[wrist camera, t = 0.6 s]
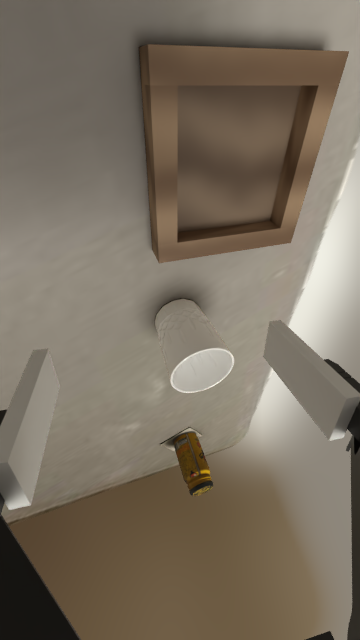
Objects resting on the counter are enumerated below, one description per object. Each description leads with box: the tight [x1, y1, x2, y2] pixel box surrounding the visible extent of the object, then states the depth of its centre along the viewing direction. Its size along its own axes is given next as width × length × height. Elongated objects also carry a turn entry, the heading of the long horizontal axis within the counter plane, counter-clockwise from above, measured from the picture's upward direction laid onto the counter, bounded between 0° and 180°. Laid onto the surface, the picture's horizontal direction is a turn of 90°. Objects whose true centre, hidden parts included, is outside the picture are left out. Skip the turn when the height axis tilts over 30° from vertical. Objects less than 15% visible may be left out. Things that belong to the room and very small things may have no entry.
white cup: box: [155, 299, 234, 393], centre depth 35 cm, size 8×8×10 cm
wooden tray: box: [139, 44, 349, 263], centre depth 26 cm, size 16×16×3 cm
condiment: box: [160, 428, 213, 496], centre depth 61 cm, size 7×8×12 cm
